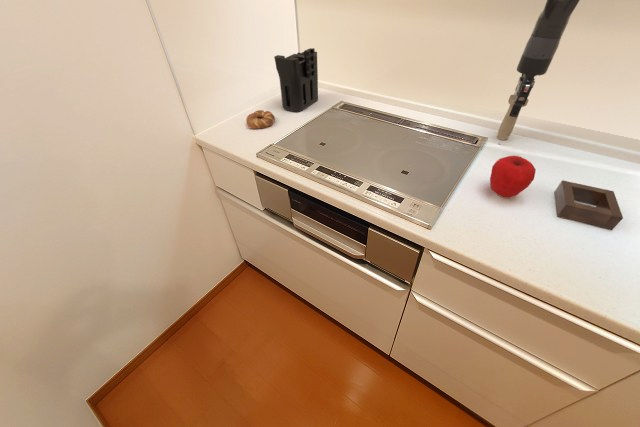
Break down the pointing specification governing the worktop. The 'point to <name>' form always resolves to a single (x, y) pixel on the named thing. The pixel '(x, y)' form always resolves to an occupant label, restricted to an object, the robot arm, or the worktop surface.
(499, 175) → the apple
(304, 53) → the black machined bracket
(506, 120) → the handle
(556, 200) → the socket block
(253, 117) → the brown bagel
